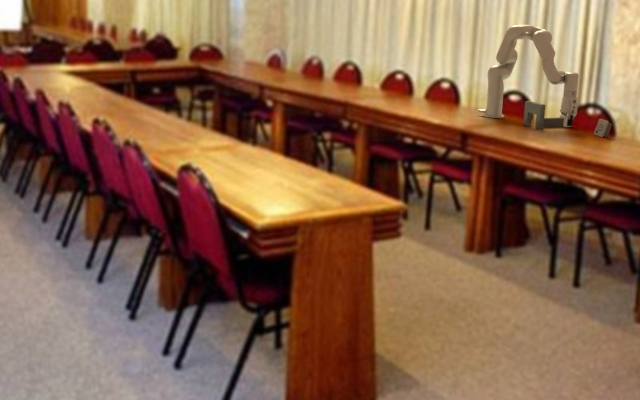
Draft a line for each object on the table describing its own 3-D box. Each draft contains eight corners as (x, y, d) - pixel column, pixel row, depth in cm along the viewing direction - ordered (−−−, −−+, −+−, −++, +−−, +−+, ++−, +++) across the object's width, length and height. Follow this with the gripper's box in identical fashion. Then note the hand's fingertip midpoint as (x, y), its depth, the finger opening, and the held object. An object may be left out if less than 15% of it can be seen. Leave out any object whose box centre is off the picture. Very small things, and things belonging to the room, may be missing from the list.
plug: (544, 127, 498) (545, 117, 497) (539, 126, 503) (540, 115, 501) (571, 126, 505) (572, 116, 503) (566, 125, 509) (567, 115, 508)
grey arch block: (538, 129, 491) (541, 105, 488) (523, 124, 506) (525, 101, 502) (543, 129, 492) (545, 104, 489) (527, 124, 507) (529, 100, 503)
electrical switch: (593, 134, 480) (596, 118, 478) (601, 135, 481) (605, 119, 479) (601, 137, 472) (604, 120, 469) (610, 138, 473) (613, 121, 470)
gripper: (584, 95, 495) (581, 127, 500) (566, 91, 511) (563, 122, 515) (573, 95, 493) (570, 127, 497) (556, 92, 508) (553, 122, 513)
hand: (566, 124), depth 506 cm, fingers closed on plug, 4 cm apart
